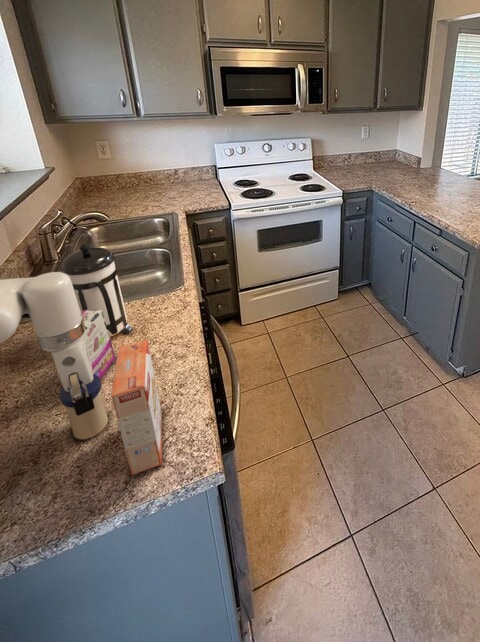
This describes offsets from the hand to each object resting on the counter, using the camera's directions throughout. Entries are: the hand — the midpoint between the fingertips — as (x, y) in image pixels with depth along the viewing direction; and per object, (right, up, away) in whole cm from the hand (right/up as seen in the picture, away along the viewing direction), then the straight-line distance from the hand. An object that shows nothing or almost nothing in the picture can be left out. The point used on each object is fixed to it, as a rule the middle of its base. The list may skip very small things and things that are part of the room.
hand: (84, 398), depth 77 cm
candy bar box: (-8, -3, +17) cm, 19 cm away
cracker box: (+14, -9, 0) cm, 17 cm away
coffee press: (-13, +3, +32) cm, 34 cm away
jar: (0, -8, +3) cm, 8 cm away
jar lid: (0, +3, -1) cm, 3 cm away
